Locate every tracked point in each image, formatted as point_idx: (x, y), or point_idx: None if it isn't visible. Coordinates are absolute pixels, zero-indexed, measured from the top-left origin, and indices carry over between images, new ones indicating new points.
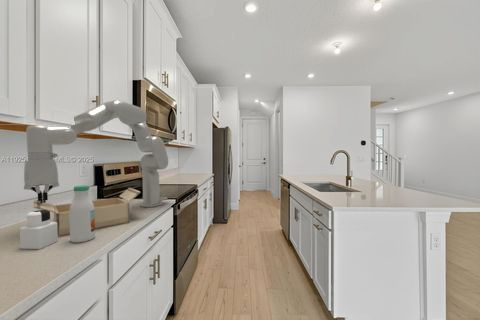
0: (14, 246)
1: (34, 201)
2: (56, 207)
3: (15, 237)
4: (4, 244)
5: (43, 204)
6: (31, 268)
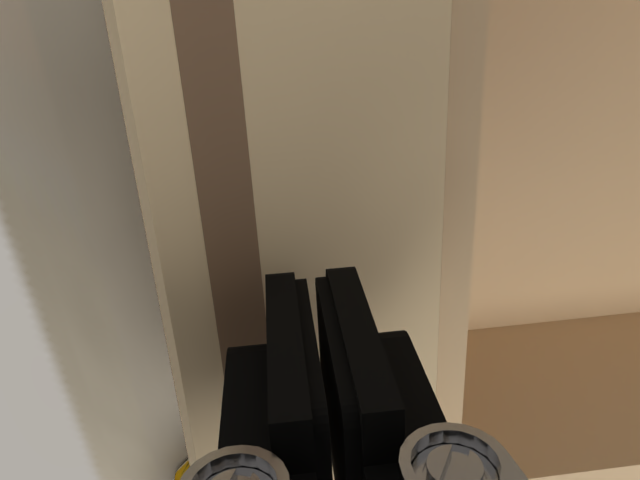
0: (125, 401)
1: (146, 190)
2: (481, 104)
3: (58, 149)
4: (36, 313)
5: (313, 265)
6: None
